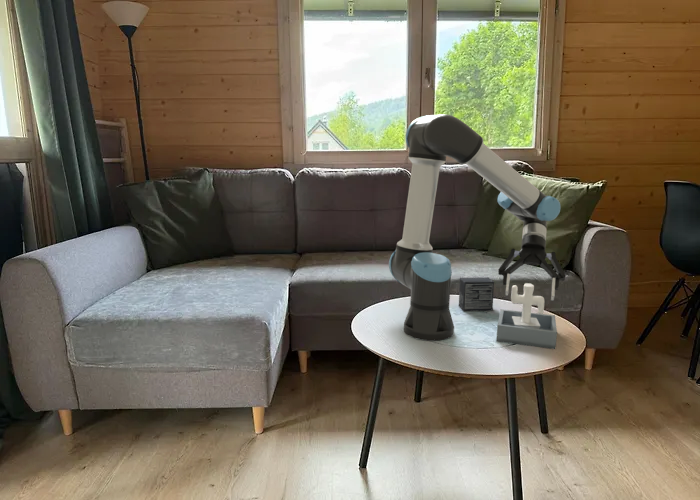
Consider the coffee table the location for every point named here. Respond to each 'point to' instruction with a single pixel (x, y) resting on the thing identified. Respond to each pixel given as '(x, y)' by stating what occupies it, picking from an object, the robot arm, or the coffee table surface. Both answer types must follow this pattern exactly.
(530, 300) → the figurine
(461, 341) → the coffee table surface
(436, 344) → the coffee table surface
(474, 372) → the coffee table surface
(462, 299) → the small box
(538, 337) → the tray
